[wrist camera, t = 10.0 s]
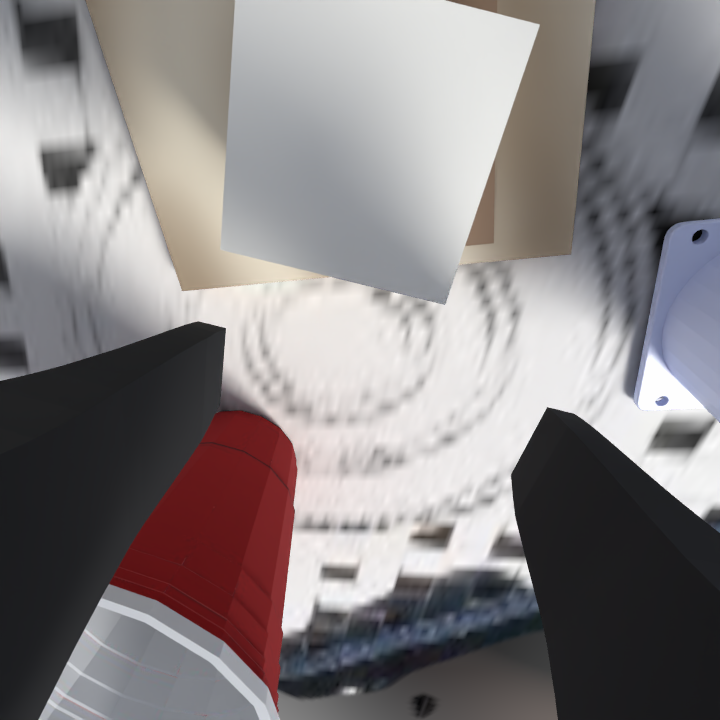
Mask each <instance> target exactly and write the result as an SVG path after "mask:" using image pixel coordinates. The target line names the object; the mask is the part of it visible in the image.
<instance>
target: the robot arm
mask: <svg viewBox="0 0 720 720" xmlns="http://www.w3.org/2000/svg"><path fill="white" fill-rule="evenodd" d="M701 229H702V235H701V237H700V238H699V239H698V240H696V241H693V242H692V236H693V234H694V233H695V232H697V231H698V230H701ZM225 333H226V328H223V327H219V326H215V325H211V324H206V323H202V322H194V323H190V324H187V325H184V326H181V327H178V328H175V329H172V330H169V331H166V332H164V333H161V334H158V335H155V336H152V337H150V338H147V339H144V340H141V341H138V342H135V343H132V344H130V345H127V346H124V347H121V348H118V349H115V350H112V351H109V352H106V353H102V354H99V355H96V356H93V357H89V358H86V359H83V360H80V361H77V362H73V363H70V364H67V365H64V366H60V367H56V368H53V369H49V370H45V371H41V372H37V373H33V374H29V375H25V376H21V377H16V378H12V379H7V380H3V381H0V720H39V718H40V716H41V714H42V712H43V710H44V708H45V706H46V704H47V702H48V700H49V698H50V696H51V694H52V692H53V690H54V688H55V686H56V684H57V682H58V680H59V678H60V676H61V674H62V672H63V670H64V668H65V666H66V664H67V662H68V660H69V658H70V656H71V654H72V652H73V650H74V648H75V646H76V645H77V643H78V641H79V639H80V637H81V635H82V633H83V631H84V630H85V628H86V626H87V624H88V622H89V620H90V618H91V616H92V614H93V613H94V611H95V609H96V607H97V605H98V603H99V601H100V599H101V598H102V596H103V594H104V592H105V590H106V588H107V587H108V585H109V583H110V581H111V579H112V578H113V576H114V574H115V572H116V570H117V569H118V567H119V565H120V563H121V561H122V560H123V558H124V556H125V554H126V552H127V551H128V549H129V547H130V545H131V544H132V542H133V541H134V539H135V537H136V536H137V534H138V533H139V531H140V530H141V528H142V526H143V525H144V523H145V522H146V520H147V519H148V518H149V516H150V515H151V513H152V512H153V510H154V509H155V507H156V506H157V505H158V503H159V502H160V500H161V499H162V497H163V496H164V495H165V493H166V492H167V490H168V489H169V487H170V486H171V485H172V483H173V482H174V480H175V479H176V477H177V476H178V474H179V473H180V472H181V470H182V469H183V467H184V466H185V464H186V463H187V461H188V460H189V459H190V457H191V456H192V454H193V453H194V451H195V450H196V448H197V447H198V445H199V444H200V442H201V441H202V439H203V437H204V435H205V433H206V431H207V429H208V427H209V425H210V424H211V421H212V419H213V417H214V415H215V413H216V411H217V409H218V407H219V405H220V397H221V384H222V372H223V359H224V346H225ZM661 396H664V397H663V399H661V400H660V401H656V400H657V398H659V397H661ZM633 399H634V403H635V404H636V405H637V407H638V408H639V409H641V410H645V411H651V410H674V409H697V408H706V409H707V410H708V411H709V412H710V413H711V414H712V415H713V416H714V417H715V418H716V419H717V420H718V421H719V422H720V218H717V219H707V220H697V221H688V222H681V223H677V224H675V225H674V226H672V227H671V228H670V229H669V230H668V231H667V233H666V235H665V238H664V243H663V248H662V253H661V258H660V263H659V269H658V274H657V279H656V284H655V289H654V294H653V299H652V305H651V310H650V315H649V320H648V325H647V330H646V336H645V341H644V346H643V351H642V356H641V361H640V366H639V372H638V377H637V382H636V387H635V392H634V397H633ZM511 479H512V491H513V501H514V509H515V516H516V521H517V525H518V529H519V533H520V537H521V541H522V545H523V549H524V553H525V557H526V561H527V565H528V569H529V572H530V576H531V580H532V584H533V588H534V592H535V595H536V599H537V603H538V607H539V611H540V615H541V619H542V623H543V628H544V632H545V637H546V642H547V647H548V654H549V660H550V667H551V673H552V680H553V686H554V693H555V699H556V707H557V715H558V720H720V533H719V532H718V531H716V530H715V529H714V528H712V527H711V526H710V525H709V524H707V523H706V522H705V521H704V520H702V519H701V518H700V517H699V516H697V515H696V514H695V513H694V512H692V511H691V510H690V509H689V508H687V507H686V506H685V505H684V504H682V503H681V502H680V501H679V500H677V499H676V498H675V497H674V496H673V495H671V494H670V493H669V492H668V491H667V490H665V489H664V488H663V487H662V486H661V485H660V484H658V483H657V482H656V481H655V480H654V479H652V478H651V477H650V476H649V475H648V474H647V473H645V472H644V471H643V470H642V469H641V468H640V467H639V466H637V465H636V464H635V463H634V462H633V461H632V460H630V459H629V458H628V457H627V456H626V455H625V454H624V453H622V452H621V451H620V450H619V449H618V448H617V447H615V446H614V445H613V444H612V443H611V442H610V441H609V440H607V439H606V438H605V437H604V436H603V435H601V434H600V433H599V432H598V431H597V430H595V429H594V428H593V427H592V426H590V425H589V424H588V423H587V422H585V421H584V420H582V419H581V418H580V417H578V416H577V415H575V414H572V413H568V412H564V411H560V410H556V409H552V408H548V407H547V409H546V411H545V413H544V414H543V416H542V418H541V420H540V422H539V424H538V426H537V427H536V429H535V431H534V433H533V435H532V437H531V439H530V441H529V442H528V444H527V446H526V448H525V450H524V452H523V454H522V455H521V457H520V459H519V461H518V463H517V465H516V467H515V468H514V470H513V472H512V474H511Z"/></svg>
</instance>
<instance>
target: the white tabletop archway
mask: <svg viewBox="0 0 720 720" xmlns="http://www.w3.org/2000/svg"><path fill="white" fill-rule="evenodd" d="M539 26H540V24H536V23H532V22H528V21H524V20H520V19H516V18H512V17H508V16H504V15H501V14H497V13H493V12H489V11H485V10H481V9H477V8H473V7H469V6H466V5H462V4H458V3H454V2H450V1H446V0H235V10H234V27H233V44H232V61H231V78H230V94H229V111H228V128H227V145H226V162H225V179H224V195H223V212H222V229H221V246H220V250H223V251H227V252H231V253H235V254H240V255H244V256H248V257H252V258H256V259H260V260H264V261H268V262H272V263H276V264H280V265H285V266H289V267H293V268H297V269H301V270H305V271H309V272H313V273H317V274H321V275H325V276H329V277H334V278H338V279H342V280H346V281H350V282H354V283H358V284H362V285H366V286H370V287H374V288H379V289H383V290H387V291H391V292H395V293H399V294H403V295H407V296H411V297H415V298H419V299H423V300H428V301H432V302H436V303H440V304H444V305H445V303H446V300H447V298H448V295H449V292H450V289H451V286H452V283H453V280H454V277H455V274H456V271H457V268H458V265H459V262H460V259H461V256H462V253H463V250H464V247H465V244H466V241H467V239H468V236H469V233H470V230H471V227H472V224H473V221H474V218H475V215H476V212H477V209H478V206H479V203H480V200H481V197H482V194H483V191H484V188H485V185H486V182H487V180H488V177H489V174H490V171H491V168H492V165H493V162H494V159H495V156H496V153H497V150H498V147H499V144H500V141H501V138H502V135H503V132H504V129H505V126H506V123H507V121H508V118H509V115H510V112H511V109H512V106H513V103H514V100H515V97H516V94H517V91H518V88H519V85H520V82H521V79H522V76H523V73H524V70H525V67H526V65H527V62H528V59H529V56H530V53H531V50H532V47H533V44H534V41H535V38H536V35H537V32H538V29H539Z"/></svg>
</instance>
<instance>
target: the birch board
mask: <svg viewBox="0 0 720 720" xmlns="http://www.w3.org/2000/svg"><path fill="white" fill-rule="evenodd" d="M85 1H86V4H87V7H88V10H89V13H90V16H91V19H92V22H93V25H94V28H95V31H96V34H97V37H98V40H99V43H100V46H101V49H102V52H103V55H104V58H105V61H106V64H107V67H108V70H109V73H110V76H111V79H112V82H113V85H114V88H115V91H116V94H117V97H118V100H119V103H120V106H121V109H122V112H123V115H124V118H125V121H126V124H127V127H128V130H129V133H130V136H131V139H132V142H133V145H134V148H135V151H136V154H137V157H138V160H139V163H140V166H141V169H142V172H143V175H144V178H145V181H146V184H147V187H148V190H149V193H150V196H151V199H152V202H153V205H154V208H155V211H156V214H157V217H158V220H159V223H160V226H161V229H162V232H163V235H164V238H165V241H166V244H167V247H168V250H169V253H170V256H171V259H172V262H173V265H174V268H175V271H176V274H177V277H178V280H179V283H180V286H181V288H182V291H188V290H199V289H209V288H220V287H230V286H241V285H251V284H262V283H272V282H283V281H294V280H304V279H315V278H325V277H329V276H325V275H321V274H317V273H313V272H309V271H305V270H301V269H297V268H293V267H289V266H285V265H280V264H276V263H272V262H268V261H264V260H260V259H256V258H252V257H248V256H244V255H240V254H235V253H231V252H227V251H223V250H220V246H221V229H222V212H223V195H224V179H225V162H226V145H227V128H228V111H229V94H230V78H231V61H232V44H233V27H234V10H235V0H85ZM446 1H450V2H454V3H458V4H462V5H466V6H469V7H473V8H477V9H481V10H485V11H489V12H493V13H497V14H501V15H504V16H508V17H512V18H516V19H520V20H524V21H528V22H532V23H536V24H540V26H539V29H538V32H537V35H536V38H535V41H534V44H533V47H532V50H531V53H530V56H529V59H528V62H527V65H526V67H525V70H524V73H523V76H522V79H521V82H520V85H519V88H518V91H517V94H516V97H515V100H514V103H513V106H512V109H511V112H510V115H509V118H508V121H507V123H506V126H505V129H504V132H503V135H502V138H501V141H500V144H499V147H498V150H497V153H496V156H495V159H494V162H493V165H492V168H491V171H490V174H489V177H488V180H487V182H486V185H485V188H484V191H483V194H482V197H481V200H480V203H479V206H478V209H477V212H476V215H475V218H474V221H473V224H472V227H471V230H470V233H469V236H468V239H467V241H466V244H465V247H464V250H463V253H462V256H461V259H460V262H459V265H463V264H473V263H484V262H494V261H505V260H516V259H526V258H537V257H547V256H558V255H568V254H571V250H572V240H573V230H574V219H575V209H576V199H577V188H578V178H579V168H580V158H581V147H582V137H583V127H584V116H585V106H586V96H587V86H588V75H589V65H590V55H591V44H592V34H593V24H594V14H595V3H596V0H446Z"/></svg>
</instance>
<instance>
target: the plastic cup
mask: <svg viewBox="0 0 720 720" xmlns="http://www.w3.org/2000/svg"><path fill="white" fill-rule="evenodd" d="M296 477H297V466H296V457H295V453H294V449H293V445H292V443H291V442H290V440H289V439H288V438H287V437H286V435H285V434H284V433H283V431H282V430H281V429H280V428H279V427H277V426H276V425H274V424H273V423H271V422H270V421H268V420H267V419H265V418H263V417H262V416H258V415H255V414H251V413H248V412H244V411H221V412H218V413H216V414H215V415H214V417H213V419H212V421H211V424H210V425H209V427H208V429H207V431H206V433H205V435H204V437H203V439H202V441H201V442H200V444H199V445H198V447H197V448H196V450H195V451H194V453H193V454H192V456H191V457H190V459H189V460H188V461H187V463H186V464H185V466H184V467H183V469H182V470H181V472H180V473H179V474H178V476H177V477H176V479H175V480H174V482H173V483H172V485H171V486H170V487H169V489H168V490H167V492H166V493H165V495H164V496H163V497H162V499H161V500H160V502H159V503H158V505H157V506H156V507H155V509H154V510H153V512H152V513H151V515H150V516H149V518H148V519H147V520H146V522H145V523H144V525H143V526H142V528H141V530H140V531H139V533H138V534H137V536H136V537H135V539H134V541H133V542H132V544H131V545H130V547H129V549H128V551H127V552H126V554H125V556H124V558H123V560H122V561H121V563H120V565H119V567H118V569H117V570H116V572H115V574H114V576H113V578H112V579H111V581H110V583H109V585H108V587H107V588H106V590H105V592H104V594H103V596H102V598H101V599H100V601H99V603H98V605H97V607H96V609H95V611H94V613H93V614H92V616H91V618H90V620H89V622H88V624H87V626H86V628H85V630H84V631H83V633H82V635H81V637H80V639H79V641H78V643H77V645H76V646H75V648H74V650H73V652H72V654H71V656H70V658H69V660H68V662H67V664H66V666H65V668H64V670H63V672H62V674H61V676H60V678H59V680H58V682H57V684H56V686H55V688H54V690H53V692H52V694H51V696H50V698H49V700H48V702H47V704H46V706H45V708H44V710H43V712H42V714H41V716H40V718H39V720H280V718H279V716H278V711H279V710H278V707H277V702H278V693H277V687H278V681H279V674H280V665H279V657H280V650H281V644H282V637H283V631H282V628H281V626H282V618H283V609H284V600H285V592H286V583H287V574H288V566H289V557H290V548H291V539H292V531H293V522H294V513H295V510H294V506H293V503H294V495H295V486H296Z"/></svg>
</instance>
